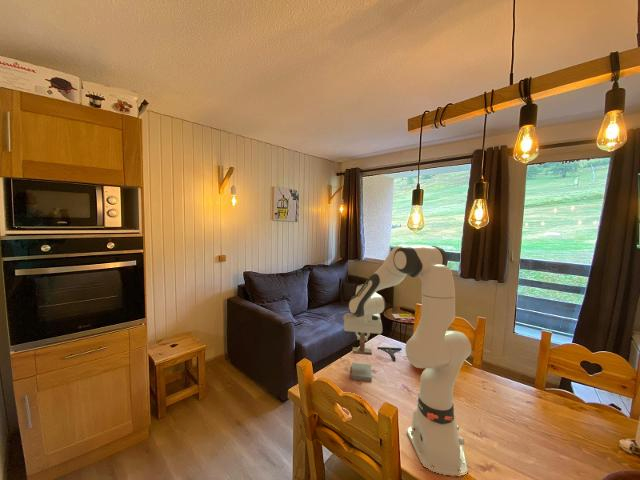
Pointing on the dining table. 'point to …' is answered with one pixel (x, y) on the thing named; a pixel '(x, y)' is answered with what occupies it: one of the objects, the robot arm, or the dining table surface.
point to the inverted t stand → (362, 346)
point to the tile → (361, 372)
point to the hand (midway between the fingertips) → (362, 339)
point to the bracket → (390, 351)
